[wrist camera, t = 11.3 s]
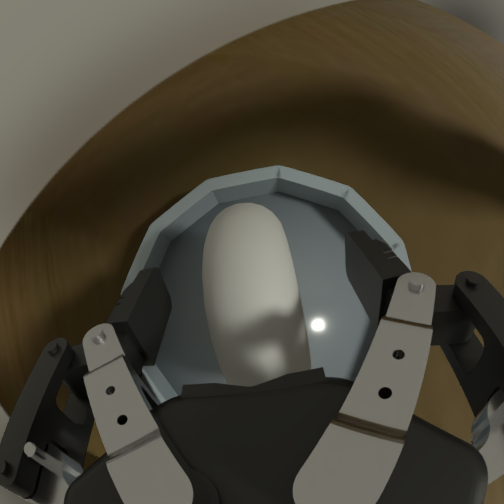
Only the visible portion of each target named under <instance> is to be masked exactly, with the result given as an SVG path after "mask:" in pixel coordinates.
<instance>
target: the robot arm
mask: <svg viewBox="0 0 504 504" xmlns="http://www.w3.org/2000/svg"><path fill="white" fill-rule="evenodd" d="M345 266H346V273H347V277H348V280H349V282H350V283H351V285H352V287H353V289H354V291H355V293H356V294H357V296H358V298H359V300H360V302H361V304H362V306H363V307H364V309H365V311H366V313H367V315H368V317H369V319H370V321H371V323H372V325H373V327H374V329H375V331H376V334H375V336H374V339H373V341H372V344H371V346H370V349H369V351H368V353H367V356H366V358H365V360H364V362H363V365H362V367H361V369H360V371H359V373H358V376H357V378H356V380H355V381H352V380H348V379H344V378H338V377H325V373H324V369H323V367H320V368H316V369H311V370H306V371H300V372H295V373H289V374H286V375H283V376H280V377H278V378H275V379H272V380H269V381H267V382H264V383H261V384H258V385H255V386H250V387H247V386H237V385H228V384H221V383H205V384H187V385H183V387H182V393H181V395H179V396H176V397H173V398H171V399H169V400H167V401H164V402H163V403H161V402H160V400H159V399H158V397H157V395H156V394H155V392H154V390H153V388H152V387H151V385H150V383H149V381H148V380H147V378H146V376H145V375H144V373H143V372H142V368H143V366H155V362H156V359H157V355H158V352H159V349H160V345H161V342H162V339H163V335H164V332H165V329H166V326H167V322H168V319H169V316H170V313H171V310H172V302H171V297H170V295H169V292H168V290H167V287H166V285H165V283H164V280H163V278H162V275H161V273H160V271H159V269H158V268H157V267H154V268H149V269H143V270H140V271H139V273H138V274H137V276H136V278H135V279H134V281H133V282H132V283H131V284H130V285H129V286H128V287H127V288H126V289H125V290H124V291H123V293H122V295H121V296H120V299H119V300H118V302H117V303H116V304H117V305H115V307H114V309H113V311H112V312H111V314H110V316H109V318H108V320H107V321H106V323H104V324H100V325H97V326H95V327H93V328H92V329H90V330H89V331H88V332H87V333H86V335H85V336H84V338H83V343H81V344H78V345H75V346H70V344H69V343H68V342H67V340H66V339H65V338H62V337H60V338H56V339H54V340H52V341H51V342H49V343H48V344H47V345H46V346H45V348H44V349H43V351H42V353H41V355H40V357H39V358H38V360H37V362H36V364H35V366H34V368H33V370H32V372H31V374H30V375H29V377H28V379H27V382H26V384H25V386H24V388H23V390H22V392H21V394H20V396H19V398H18V401H17V403H16V405H15V407H14V410H13V412H12V415H11V417H10V419H9V422H8V425H7V427H6V430H5V432H4V435H3V438H2V441H1V444H0V485H1V486H3V487H4V488H6V489H8V490H10V491H11V492H13V493H15V494H17V495H18V496H19V497H20V498H22V499H24V500H26V501H28V502H30V503H32V504H484V499H485V495H486V490H487V485H488V484H490V483H491V482H493V481H494V480H496V479H497V478H498V477H500V476H501V475H503V474H504V298H503V297H502V296H501V295H500V293H499V292H498V291H497V290H496V289H495V288H494V287H493V286H492V285H491V284H490V283H489V281H488V280H487V279H486V278H485V277H483V276H482V275H480V274H478V273H476V272H472V271H464V272H461V273H459V274H458V275H457V276H456V279H455V283H454V285H436V284H435V282H434V281H433V279H431V278H430V277H429V276H427V275H425V274H422V273H416V272H411V271H410V270H409V268H408V267H407V266H406V265H405V264H404V263H403V262H402V261H401V260H400V258H399V257H397V255H396V254H395V253H394V252H392V250H391V249H390V248H389V247H388V245H387V244H385V243H383V242H381V241H379V240H377V239H375V240H372V239H371V238H370V237H369V236H368V235H367V234H366V232H365V231H364V230H359V231H354V232H348V233H346V234H345ZM475 327H476V329H477V330H478V332H479V333H480V335H481V336H482V338H483V340H484V348H483V346H482V344H481V343H480V341H479V340H478V338H477V337H476V335H475V334H474V329H475ZM431 345H440V346H441V348H442V350H443V352H444V354H445V355H446V357H447V359H448V361H449V363H450V365H451V367H452V369H453V371H454V373H455V375H456V377H457V379H458V381H459V383H460V385H461V387H462V389H463V391H464V393H465V395H466V397H467V400H468V402H469V404H470V406H471V409H472V411H473V413H474V416H475V419H474V421H473V423H472V429H471V430H472V437H471V443H472V445H473V446H472V445H471V444H469V443H467V442H465V441H463V440H461V439H459V438H457V437H455V436H453V435H451V434H449V433H448V432H446V431H444V430H442V429H440V428H438V427H436V426H434V425H432V424H430V423H429V422H427V421H425V420H423V419H421V418H419V417H418V416H416V415H414V414H413V412H414V409H415V406H416V402H417V399H418V395H419V392H420V388H421V384H422V381H423V377H424V372H425V368H426V364H427V359H428V354H429V349H430V346H431ZM61 383H63V384H64V385H65V386H66V387H67V388H68V389H69V390H70V391H71V392H70V395H69V397H68V400H67V403H66V405H65V408H64V411H63V412H62V411H61V410H60V409H59V408H58V407H57V404H56V396H57V393H58V391H59V388H60V386H61ZM94 420H95V421H96V424H97V427H98V430H99V433H100V436H101V438H102V441H103V444H104V446H105V449H106V453H105V454H104V455H103V456H101V457H100V458H99V459H98V460H97V461H96V462H95V463H93V464H92V465H91V466H90V467H89V468H88V469H87V470H85V471H84V472H83V464H84V459H85V455H86V451H87V447H88V442H89V438H90V435H91V431H92V427H93V423H94Z"/></svg>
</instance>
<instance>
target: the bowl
mask: <svg viewBox="0 0 504 504" xmlns="http://www.w3.org/2000/svg"><path fill="white" fill-rule="evenodd" d="M349 187H350V186H347V185H344V184H341V183H338V182H335V181H332V180H328V179H325V178H322V177H319V176H315V175H312V174H309V173H305V172H302V171H298V170H295V169H291V168H288V167H284V166H279V165H277V166H271V167H266V168H260V169H255V170H250V171H244V172H239V173H234V174H230V175H225V176H220V177H216V178H211V179H208V181H207V180H206V181H204V182H203V183H202V184H200V185H199V186H198V187H196V188H195V189H194V190H193V191H191V192H190V193H189V194H187V195H186V196H185V197H184V198H182V199H181V200H180V201H179V202H177V203H176V204H175V205H174V206H172V207H171V208H170V209H169V210H167V211H166V212H165V213H164V214H162V215H161V216H160V217H159V218H158V219H156V220H155V221H154V222H153V223H152V224H151V226H149V228H148V230H147V233H146V235H145V237H144V239H143V241H142V243H141V246H140V248H139V250H138V252H137V254H136V257H135V259H134V261H133V264H132V266H131V268H130V271H129V273H128V275H127V278H126V280H125V283H124V285H123V288H122V290H121V295H122V293H123V291H124V290H125V289H126V288H127V287H128V286H129V285H130V284H131V283H132V282H133V281H134V279H135V278H136V276H137V274H138V273H139V271H140V270H143V269H149V268H154V267H157V268H158V269H159V271H160V273H161V275H162V278H163V280H164V283H165V285H166V287H167V290H168V292H169V295H170V297H171V302H172V310H171V313H170V316H169V319H168V322H167V326H166V329H165V332H164V335H163V339H162V342H161V345H160V349H159V352H158V355H157V359H156V362H155V366H143V368H142V372H143V373H144V375H145V376H146V378H147V380H148V381H149V383H150V385H151V387H152V388H153V390H154V392H155V394H156V395H157V397H158V399H159V400H160V402H161V403H163V402H164V401H167V400H169V399H171V398H173V397H176V396H179V395H181V393H182V387H183V385H187V384H205V383H221V384H228V383H227V381H226V379H225V377H224V375H223V373H222V371H221V369H220V366H219V363H218V360H217V357H216V354H215V351H214V348H213V345H212V342H211V337H210V332H209V327H208V322H207V317H206V312H205V306H204V294H203V282H202V264H203V250H204V244H205V240H206V236H207V233H208V230H209V227H210V225H211V224H212V222H213V220H214V219H215V217H216V216H217V215H218V214H219V213H220V212H221V211H223V210H224V209H225V208H227V207H230V206H232V205H235V204H238V203H254V204H258V205H262V206H264V207H265V208H267V209H269V210H270V211H272V212H273V213H274V215H275V216H276V217H277V218H278V220H279V221H280V222H281V224H282V227H283V230H284V232H285V235H286V238H287V242H288V245H289V249H290V253H291V257H292V261H293V265H294V269H295V274H296V278H297V283H298V287H299V292H300V297H301V302H302V308H303V313H304V318H305V324H306V330H307V336H308V342H309V350H310V358H311V369H316V368H320V367H323V369H324V373H325V377H338V378H344V379H348V380H352V381H355V380H356V378H357V376H358V373H359V371H360V369H361V367H362V365H363V362H364V360H365V358H366V356H367V353H368V351H369V349H370V346H371V344H372V341H373V339H374V336H375V334H376V331H375V329H374V327H373V325H372V323H371V321H370V319H369V317H368V315H367V313H366V311H365V309H364V307H363V306H362V304H361V302H360V300H359V298H358V296H357V294H356V293H355V291H354V289H353V287H352V285H351V283H350V282H349V280H348V277H347V273H346V266H345V234H346V233H348V232H354V231H359V230H364V231H365V232H366V234H367V235H368V236H369V237H370V238H371V239H372V240H375V239H377V240H379V241H381V242H383V243H385V244H387V245H388V247H389V248H390V249H391V250H392V252H394V253H395V254H396V255H397V257H399V258H400V260H401V261H402V262H403V263H404V264H405V265H406V266H407V267H408V268H409V270H410V271H411V267H410V263H409V259H408V256H407V252H406V249H405V245H404V242H402V241H403V240H402V239H401V238H400V237H399V236H398V235H397V234H396V233H395V232H394V231H393V229H392V228H391V227H390V226H389V225H388V224H387V223H386V222H385V221H384V220H383V219H382V218H381V217H380V216H379V215H378V214H377V213H376V211H375V210H374V209H373V208H372V207H371V206H370V205H369V204H368V203H367V202H366V201H365V200H364V199H363V198H362V197H361V196H360V195H358V194H357V193H356V192H355V191H354V190H353V189H352V188H351V187H350V188H349ZM401 242H402V243H401ZM411 272H412V271H411Z"/></svg>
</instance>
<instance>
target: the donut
mask: <svg viewBox="0 0 504 504" xmlns="http://www.w3.org/2000/svg"><path fill="white" fill-rule="evenodd" d="M202 282H203V294H204V306H205V312H206V317H207V322H208V327H209V332H210V337H211V342H212V345H213V348H214V351H215V354H216V357H217V360H218V363H219V366H220V369H221V371H222V373H223V375H224V377H225V379H226V381H227V383H228V385H237V386H247V387H250V386H255V385H258V384H261V383H264V382H267V381H269V380H272V379H275V378H278V377H280V376H283V375H286V374H289V373H295V372H300V371H306V370H311V358H310V350H309V342H308V336H307V330H306V324H305V318H304V313H303V308H302V302H301V297H300V292H299V287H298V283H297V278H296V274H295V269H294V265H293V261H292V257H291V253H290V249H289V245H288V242H287V238H286V235H285V232H284V230H283V227H282V224H281V222H280V221H279V220H278V218H277V217H276V216H275V215H274V213H273V212H272V211H270V210H269V209H267V208H265V207H264V206H262V205H258V204H254V203H238V204H235V205H232V206H230V207H227V208H225V209H224V210H223V211H221V212H220V213H219V214H218V215H217V216H216V217H215V219H214V220H213V222H212V224H211V225H210V227H209V230H208V233H207V236H206V240H205V244H204V250H203V264H202Z"/></svg>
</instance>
